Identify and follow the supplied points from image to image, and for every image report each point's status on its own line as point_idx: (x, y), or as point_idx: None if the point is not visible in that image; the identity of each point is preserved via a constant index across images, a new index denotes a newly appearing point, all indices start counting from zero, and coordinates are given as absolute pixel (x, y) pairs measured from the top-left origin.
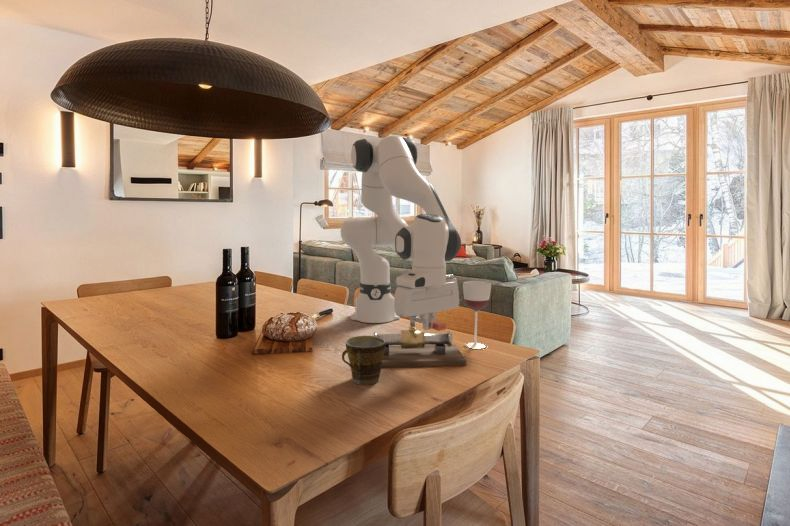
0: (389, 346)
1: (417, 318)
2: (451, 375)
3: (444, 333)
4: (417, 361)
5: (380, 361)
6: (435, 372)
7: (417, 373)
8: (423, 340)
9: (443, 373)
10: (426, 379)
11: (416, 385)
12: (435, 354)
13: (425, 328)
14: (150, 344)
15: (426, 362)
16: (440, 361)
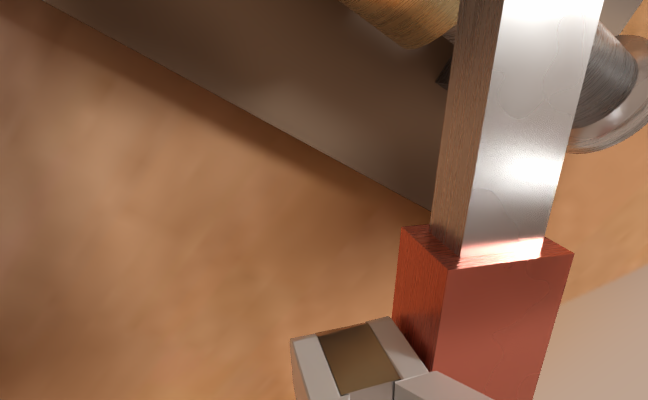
0: None
1: (496, 8)
2: (320, 297)
3: (611, 82)
4: (252, 114)
5: None
6: (280, 235)
7: (182, 204)
8: (405, 41)
9: (306, 263)
10: (179, 293)
11: (83, 336)
12: (431, 72)
13: (296, 386)
14: None
15: (303, 141)
16: (374, 180)
